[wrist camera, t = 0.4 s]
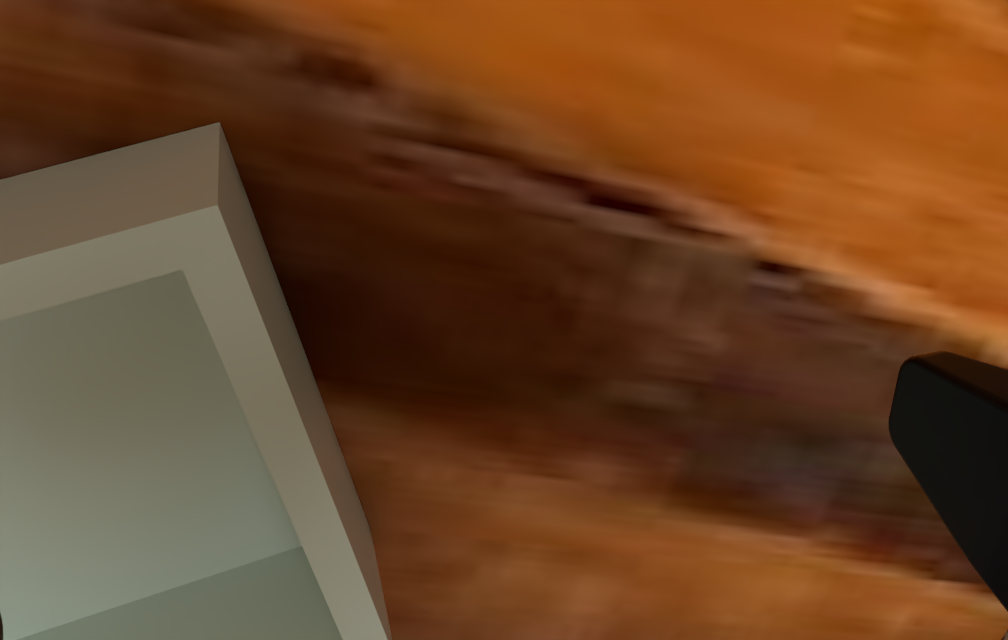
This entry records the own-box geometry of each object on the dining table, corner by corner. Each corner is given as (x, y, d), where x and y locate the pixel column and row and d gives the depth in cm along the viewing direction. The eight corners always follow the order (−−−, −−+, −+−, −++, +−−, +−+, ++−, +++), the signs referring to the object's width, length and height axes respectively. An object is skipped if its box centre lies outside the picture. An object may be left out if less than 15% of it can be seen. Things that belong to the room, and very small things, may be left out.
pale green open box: (370, 530, 27) (396, 663, 23) (-76, 677, 25) (-136, 850, 21) (219, 122, 20) (217, 205, 16) (-408, 286, 18) (-598, 428, 14)
